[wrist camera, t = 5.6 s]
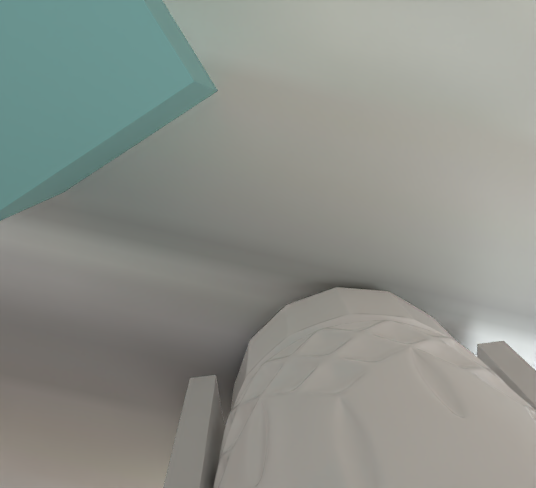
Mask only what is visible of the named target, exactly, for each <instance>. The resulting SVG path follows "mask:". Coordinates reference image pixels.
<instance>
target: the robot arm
mask: <svg viewBox="0 0 536 488" xmlns="http://www.w3.org/2000/svg"><path fill="white" fill-rule="evenodd" d="M477 357H478V358H479V359H480V360H481V361H482V362H484V363H485V364H486V365H487V366H488V367H489V368H491V369H492V370H493V371H494V372H495V373H496V374H497V375H498V376H499V377H500V378H501V379H502V380H503V381H504V382H505V383H506V384H507V385H508V386H509V387H510V388H511V389H512V390H513V391H514V392H516V393H517V394H518V395H519V396H520V397H521V398H523V399H524V400H525V401H526V402H527V403H528V404H529V405H531V406H532V407H533V408H534V409H535V410H536V371H535V370H534V369H533V368H532V367H531V366H530V365H529V364H528V363H527V362H526V361H525V360H524V359H523V358H521V357H520V356H519V355H518V354H517V353H516V352H515V351H514V350H513V349H512V348H511V347H510V346H509V345H508V344H506V343H505V342H504V341H499V342H491V343H482V344H477ZM224 430H225V426H224V420H223V414H222V408H221V402H220V396H219V390H218V384H217V378H216V375H211V376H202V377H194V378H190V379H189V384H188V388H187V392H186V396H185V400H184V404H183V408H182V412H181V417H180V421H179V425H178V429H177V433H176V437H175V441H174V446H173V450H172V454H171V458H170V462H169V466H168V470H167V474H166V479H165V483H164V487H163V488H213V486H214V482H215V477H216V472H217V468H218V460H219V455H220V449H221V444H222V439H223V434H224Z"/></svg>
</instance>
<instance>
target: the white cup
mask: <svg viewBox="0 0 536 488" xmlns="http://www.w3.org/2000/svg"><path fill="white" fill-rule="evenodd" d="M213 488H536V410H535V409H534V408H533V407H532V406H531V405H529V404H528V403H527V402H526V401H525V400H524V399H523V398H521V397H520V396H519V395H518V394H517V393H516V392H514V391H513V390H512V389H511V388H510V387H509V386H508V385H507V384H506V383H505V382H504V381H503V380H502V379H501V378H500V377H499V376H498V375H497V374H496V373H495V372H494V371H493V370H492V369H491V368H489V367H488V366H487V365H486V364H485V363H484V362H482V361H481V360H480V359H479V358H478V357H476V356H475V355H474V354H473V353H472V352H470V351H469V350H468V349H466V348H465V347H464V346H462V345H461V344H460V343H458V342H457V341H456V340H455V339H454V338H453V337H452V336H451V335H450V334H449V333H448V332H447V331H446V330H445V329H444V328H443V327H442V326H441V325H440V324H439V323H438V322H437V321H436V320H435V319H434V318H433V317H432V316H431V315H429V314H427V313H426V312H424V311H422V310H420V309H419V308H417V307H415V306H413V305H412V304H410V303H408V302H406V301H405V300H403V299H401V298H400V297H398V296H396V295H394V294H393V293H391V292H389V291H381V290H368V289H355V288H342V287H335V288H332V289H329V290H326V291H324V292H321V293H318V294H315V295H312V296H310V297H307V298H304V299H301V300H298V301H296V302H293V303H290V304H287V305H286V306H284V307H283V308H282V309H281V310H280V311H279V312H278V313H277V314H276V315H275V316H274V317H273V318H272V319H271V320H270V321H269V322H268V323H267V324H266V325H265V326H264V327H263V328H262V329H261V330H260V331H259V332H258V333H257V334H256V335H255V336H254V337H252V338H251V340H250V341H249V344H248V346H247V349H246V352H245V355H244V358H243V361H242V364H241V367H240V370H239V372H238V375H237V378H236V381H235V384H234V389H233V396H232V403H231V410H230V414H229V416H228V418H227V422H226V426H225V430H224V434H223V439H222V444H221V449H220V455H219V460H218V468H217V472H216V477H215V482H214V486H213Z"/></svg>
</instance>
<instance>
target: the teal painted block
mask: <svg viewBox="0 0 536 488" xmlns="http://www.w3.org/2000/svg"><path fill="white" fill-rule="evenodd" d="M217 91H218V90H217V89H216V87H215V86H214V84H213V82H212V81H211V79H210V77H209V76H208V74H207V73H206V71H205V69H204V68H203V66H202V64H201V63H200V61H199V60H198V58H197V56H196V55H195V53H194V51H193V50H192V48H191V47H190V45H189V43H188V42H187V40H186V38H185V37H184V35H183V34H182V32H181V30H180V29H179V27H178V25H177V24H176V22H175V21H174V19H173V17H172V16H171V14H170V12H169V11H168V9H167V8H166V6H165V4H164V3H163V1H162V0H0V221H1V220H3V219H5V218H7V217H10V216H12V215H14V214H16V213H18V212H21V211H23V210H25V209H27V208H30V207H32V206H34V205H36V204H38V203H41V202H43V201H45V200H47V199H50V198H52V197H54V196H56V195H58V194H61V193H63V192H65V191H66V190H68V189H69V188H71V187H72V186H74V185H75V184H77V183H78V182H80V181H81V180H83V179H84V178H86V177H87V176H89V175H90V174H92V173H93V172H95V171H97V170H98V169H100V168H101V167H103V166H104V165H106V164H107V163H109V162H110V161H112V160H113V159H115V158H116V157H118V156H119V155H121V154H122V153H124V152H125V151H127V150H128V149H130V148H132V147H133V146H135V145H136V144H138V143H139V142H141V141H142V140H144V139H145V138H147V137H148V136H150V135H151V134H153V133H154V132H156V131H157V130H159V129H160V128H162V127H163V126H165V125H167V124H168V123H170V122H171V121H173V120H174V119H176V118H177V117H179V116H180V115H182V114H183V113H185V112H186V111H188V110H189V109H191V108H192V107H194V106H195V105H197V104H198V103H200V102H202V101H203V100H205V99H206V98H208V97H209V96H211V95H212V94H214V93H215V92H217Z"/></svg>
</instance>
